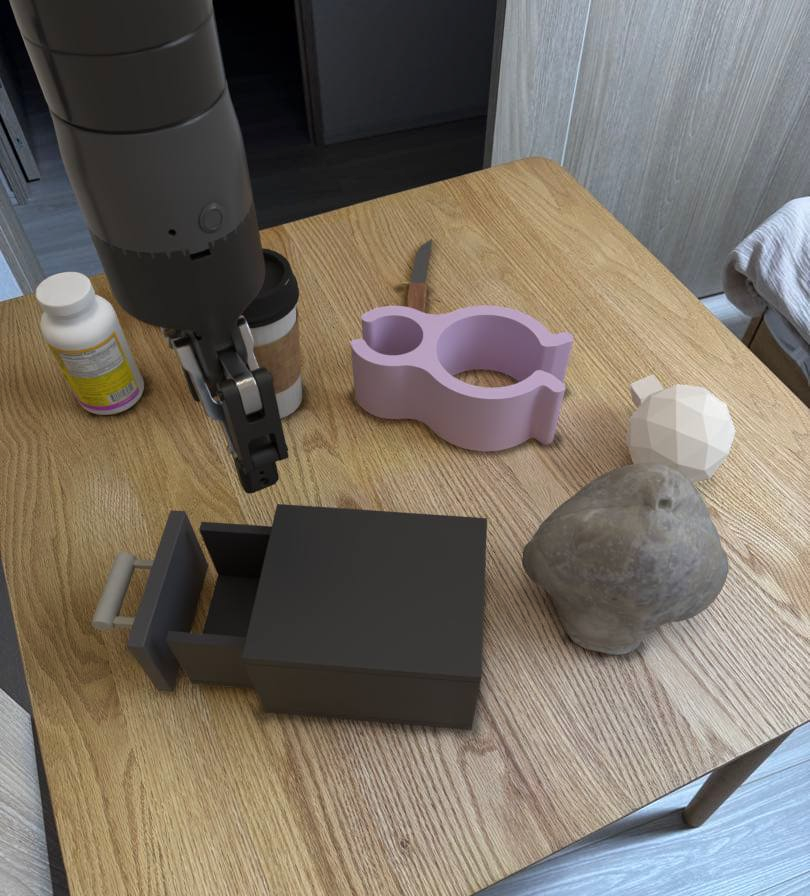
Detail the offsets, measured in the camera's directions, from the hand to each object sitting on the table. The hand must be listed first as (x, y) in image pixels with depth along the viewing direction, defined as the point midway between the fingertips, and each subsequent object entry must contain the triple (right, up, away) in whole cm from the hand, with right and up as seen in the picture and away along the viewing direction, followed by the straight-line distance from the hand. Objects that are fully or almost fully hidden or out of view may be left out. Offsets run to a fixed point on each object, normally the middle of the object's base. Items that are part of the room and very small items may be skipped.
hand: (234, 438), depth 47 cm
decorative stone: (+27, -12, +15) cm, 33 cm away
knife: (+12, +22, +38) cm, 45 cm away
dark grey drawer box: (+9, -15, +13) cm, 21 cm away
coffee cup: (-2, +8, +28) cm, 29 cm away
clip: (+16, +8, +28) cm, 33 cm away
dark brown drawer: (-2, -14, +13) cm, 19 cm away
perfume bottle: (+35, +1, +24) cm, 42 cm away
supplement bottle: (-19, +8, +29) cm, 35 cm away
